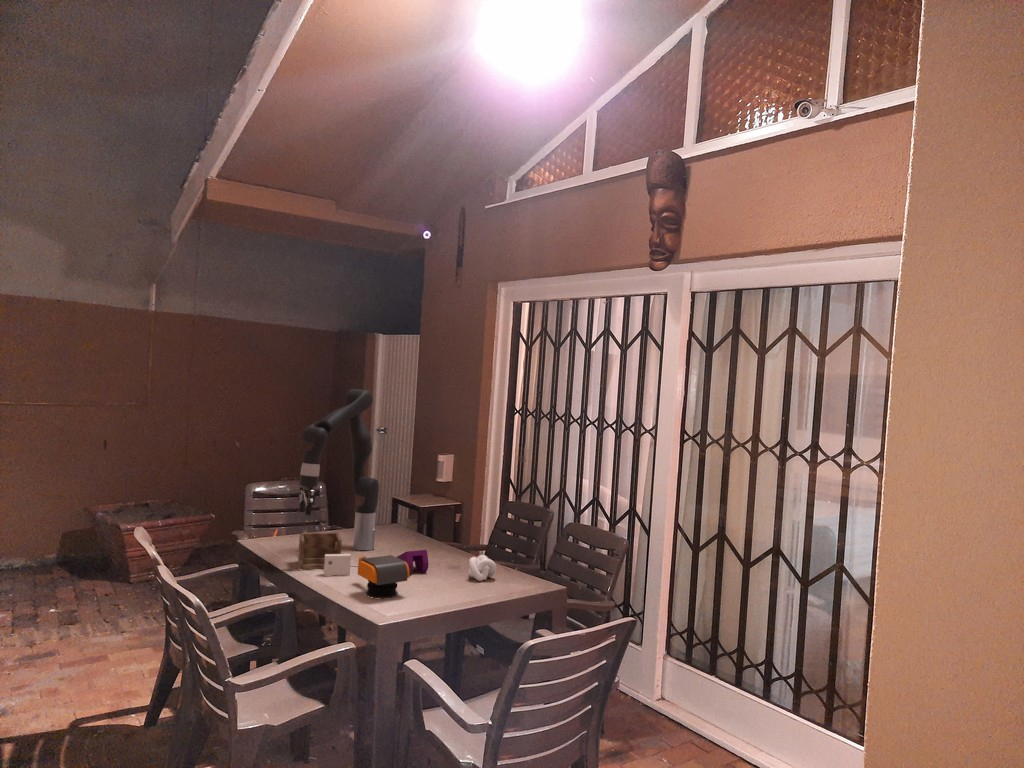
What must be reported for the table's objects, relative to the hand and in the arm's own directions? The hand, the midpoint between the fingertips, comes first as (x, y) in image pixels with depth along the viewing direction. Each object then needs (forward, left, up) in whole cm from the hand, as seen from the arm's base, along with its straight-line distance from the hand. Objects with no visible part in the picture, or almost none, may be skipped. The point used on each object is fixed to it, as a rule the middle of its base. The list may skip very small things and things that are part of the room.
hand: (304, 513), depth 288 cm
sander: (-25, +37, -22) cm, 50 cm away
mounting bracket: (-43, +9, -22) cm, 49 cm away
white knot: (-69, +27, -22) cm, 78 cm away
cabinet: (-7, -1, -22) cm, 23 cm away
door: (-13, +14, -22) cm, 29 cm away
